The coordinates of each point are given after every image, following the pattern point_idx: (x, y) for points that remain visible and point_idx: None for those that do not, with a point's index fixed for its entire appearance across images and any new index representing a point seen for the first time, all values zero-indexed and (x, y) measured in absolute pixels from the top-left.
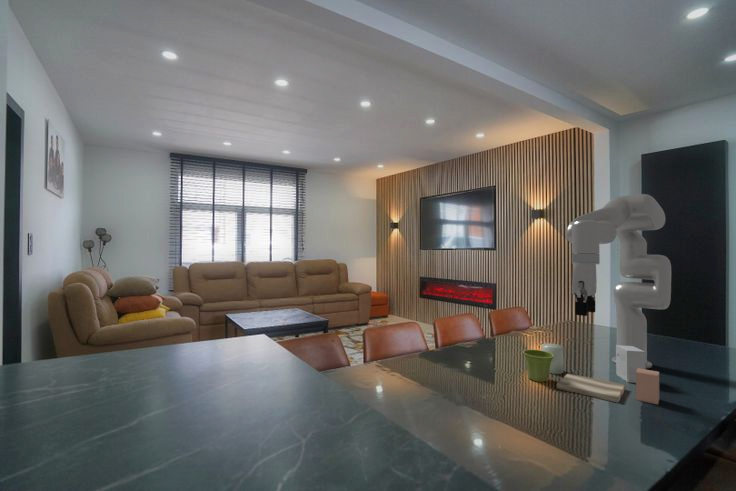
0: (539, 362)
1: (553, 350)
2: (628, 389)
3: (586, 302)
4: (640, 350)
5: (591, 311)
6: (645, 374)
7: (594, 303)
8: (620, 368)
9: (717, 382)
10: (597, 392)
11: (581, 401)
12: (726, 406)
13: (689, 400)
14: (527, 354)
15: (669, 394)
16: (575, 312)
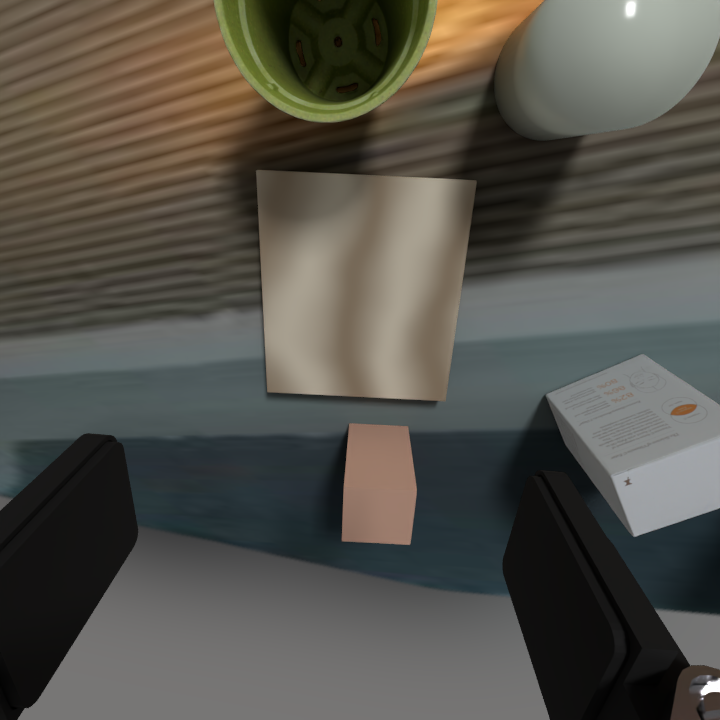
0: (250, 45)
1: (543, 69)
2: (452, 400)
3: (575, 620)
4: (649, 522)
5: (510, 547)
6: (343, 509)
7: (549, 693)
8: (623, 388)
9: (707, 594)
10: (268, 331)
11: (185, 284)
12: (457, 588)
13: (451, 531)
14: None
15: (478, 495)
16: (69, 447)
